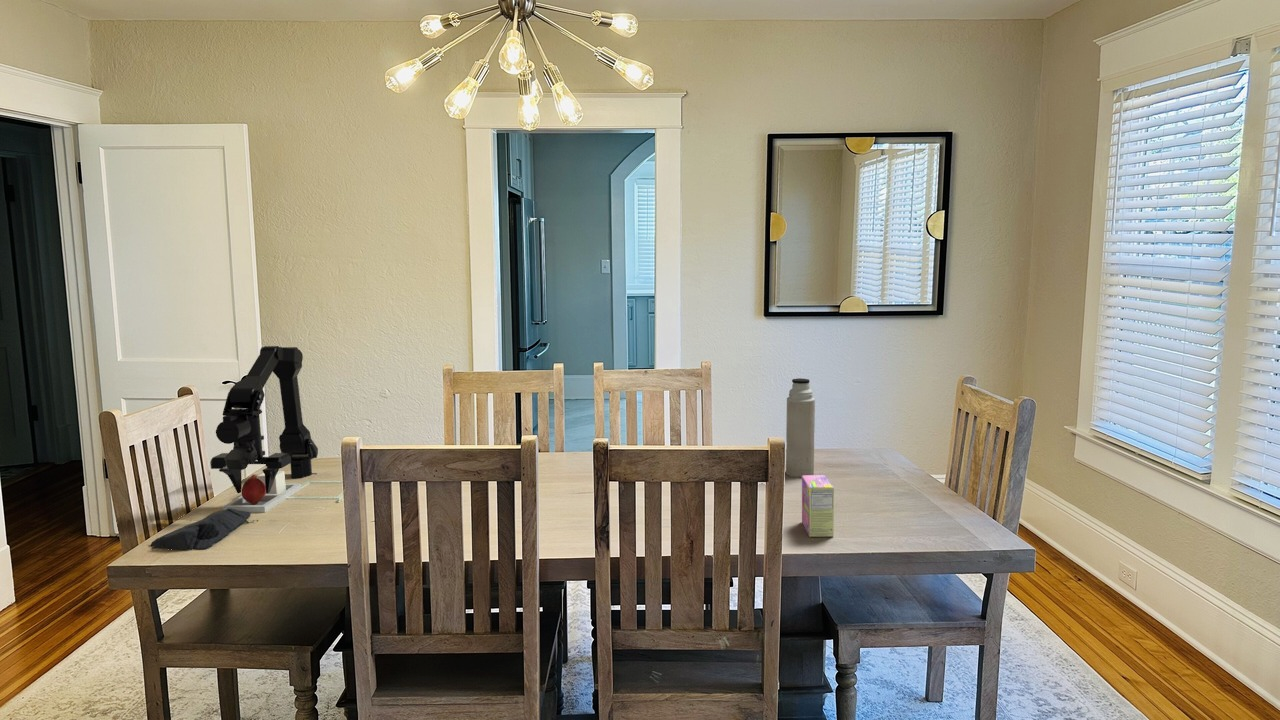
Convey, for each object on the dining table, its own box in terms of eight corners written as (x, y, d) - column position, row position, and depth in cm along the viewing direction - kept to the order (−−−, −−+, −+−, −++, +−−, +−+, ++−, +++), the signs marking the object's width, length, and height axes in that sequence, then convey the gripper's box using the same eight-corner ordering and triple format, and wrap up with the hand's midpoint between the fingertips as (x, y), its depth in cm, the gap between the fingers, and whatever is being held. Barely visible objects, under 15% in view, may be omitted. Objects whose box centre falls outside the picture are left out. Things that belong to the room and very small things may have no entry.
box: (800, 522, 195) (801, 474, 193) (824, 522, 194) (825, 474, 193) (808, 537, 184) (809, 487, 183) (833, 537, 184) (834, 487, 182)
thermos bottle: (810, 469, 240) (812, 376, 236) (816, 477, 232) (817, 381, 228) (783, 469, 240) (784, 377, 236) (788, 477, 232) (789, 381, 228)
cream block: (268, 492, 222) (266, 470, 221) (286, 492, 222) (284, 470, 221) (259, 497, 217) (257, 476, 216) (277, 497, 217) (275, 476, 216)
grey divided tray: (263, 492, 225) (262, 483, 225) (301, 492, 225) (301, 483, 224) (223, 516, 205) (222, 506, 205) (265, 516, 205) (264, 506, 205)
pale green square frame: (307, 485, 232) (307, 481, 232) (362, 485, 231) (362, 480, 231) (280, 502, 216) (280, 498, 216) (339, 502, 215) (338, 498, 215)
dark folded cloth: (262, 521, 203) (261, 502, 202) (204, 553, 181) (202, 533, 181) (207, 518, 205) (205, 500, 204) (142, 551, 184) (140, 531, 183)
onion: (248, 507, 206) (247, 476, 206) (238, 506, 210) (236, 475, 210) (271, 503, 211) (269, 473, 211) (260, 502, 214) (258, 472, 214)
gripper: (194, 442, 200) (200, 502, 202) (268, 441, 199) (273, 502, 201) (220, 431, 211) (225, 489, 213) (289, 431, 210) (294, 489, 212)
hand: (253, 492), depth 210 cm, fingers open, 7 cm apart
